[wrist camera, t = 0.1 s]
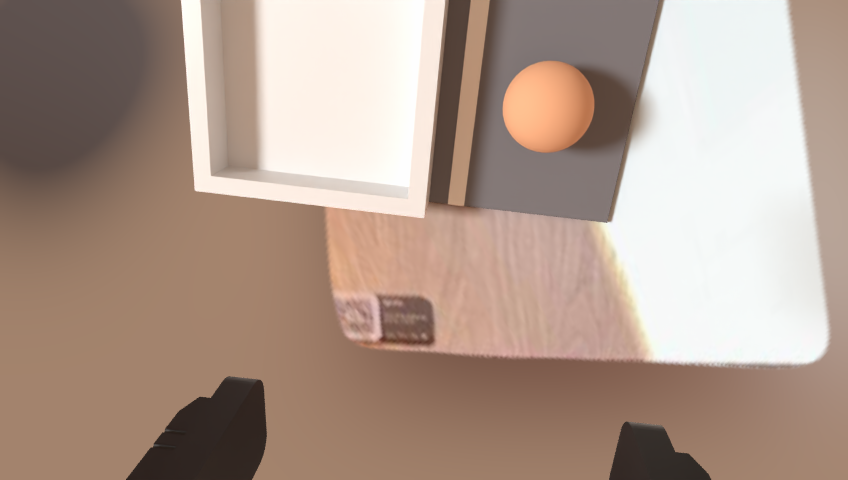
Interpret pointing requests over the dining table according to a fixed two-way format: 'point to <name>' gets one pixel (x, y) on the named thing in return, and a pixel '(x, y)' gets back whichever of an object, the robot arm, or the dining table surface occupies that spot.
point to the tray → (316, 100)
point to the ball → (548, 106)
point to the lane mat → (486, 86)
